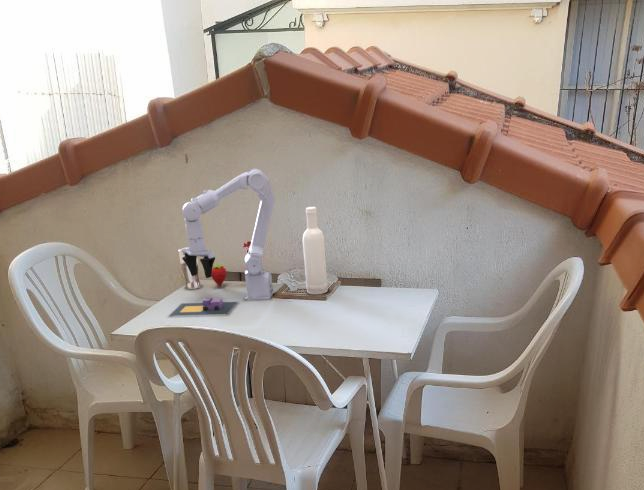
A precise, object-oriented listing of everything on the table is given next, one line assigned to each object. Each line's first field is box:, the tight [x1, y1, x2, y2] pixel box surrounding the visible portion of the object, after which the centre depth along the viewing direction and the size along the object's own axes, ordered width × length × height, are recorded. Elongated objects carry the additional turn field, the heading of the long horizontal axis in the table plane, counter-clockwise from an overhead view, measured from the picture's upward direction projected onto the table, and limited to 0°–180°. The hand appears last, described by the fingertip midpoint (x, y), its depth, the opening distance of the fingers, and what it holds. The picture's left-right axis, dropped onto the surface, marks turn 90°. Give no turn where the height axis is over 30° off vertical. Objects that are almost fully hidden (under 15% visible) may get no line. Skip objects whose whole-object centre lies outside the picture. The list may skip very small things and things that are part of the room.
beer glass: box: [178, 246, 202, 290], centre depth 272 cm, size 7×7×15 cm
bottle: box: [302, 206, 329, 295], centre depth 250 cm, size 8×8×30 cm
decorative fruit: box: [211, 261, 227, 287], centre depth 271 cm, size 6×8×10 cm
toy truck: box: [202, 297, 224, 311], centre depth 246 cm, size 6×5×3 cm
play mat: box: [169, 301, 238, 317], centre depth 247 cm, size 21×14×1 cm, turn 82°
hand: (201, 276), depth 250 cm, fingers open, 7 cm apart
